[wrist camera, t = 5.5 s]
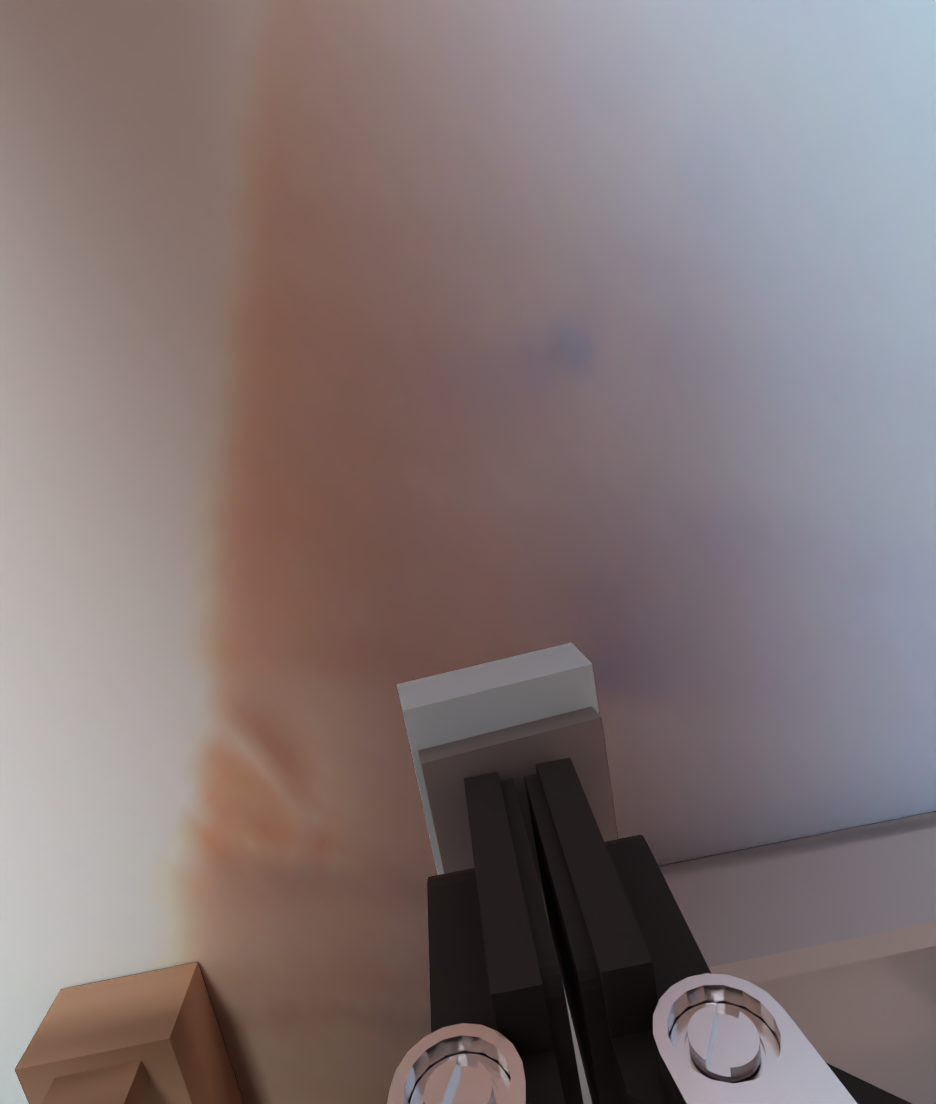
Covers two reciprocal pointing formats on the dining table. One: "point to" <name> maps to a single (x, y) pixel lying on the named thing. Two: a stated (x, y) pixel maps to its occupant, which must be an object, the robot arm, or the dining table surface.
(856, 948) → the dish
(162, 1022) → the fulcrum
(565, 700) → the lever
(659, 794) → the dining table surface
